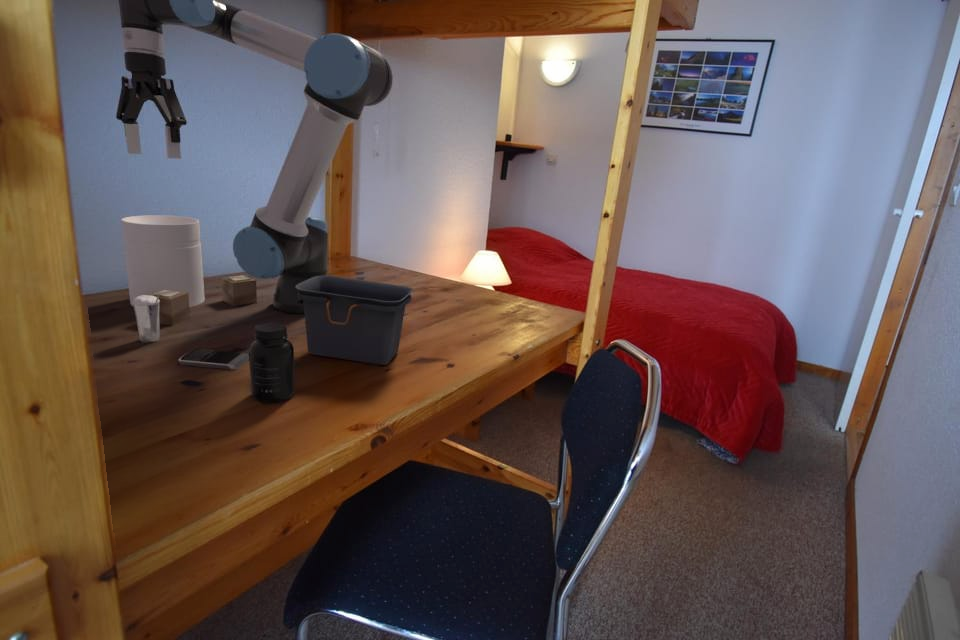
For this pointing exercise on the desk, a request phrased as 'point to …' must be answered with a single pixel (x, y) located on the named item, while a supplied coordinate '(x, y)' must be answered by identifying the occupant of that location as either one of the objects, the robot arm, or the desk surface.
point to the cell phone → (214, 359)
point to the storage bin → (353, 318)
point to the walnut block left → (173, 306)
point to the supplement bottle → (271, 364)
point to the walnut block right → (239, 290)
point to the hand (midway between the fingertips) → (154, 156)
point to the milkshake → (147, 317)
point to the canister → (163, 256)
